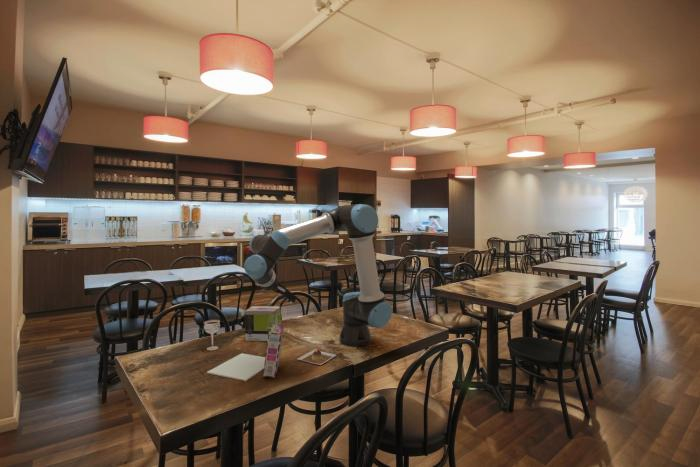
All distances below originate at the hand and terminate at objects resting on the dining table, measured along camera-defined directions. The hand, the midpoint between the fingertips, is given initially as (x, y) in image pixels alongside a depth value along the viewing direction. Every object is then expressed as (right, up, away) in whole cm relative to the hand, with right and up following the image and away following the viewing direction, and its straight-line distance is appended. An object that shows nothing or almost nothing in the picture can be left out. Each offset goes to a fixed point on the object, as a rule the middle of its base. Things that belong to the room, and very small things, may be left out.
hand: (280, 293), depth 156 cm
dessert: (+17, -27, -6) cm, 32 cm away
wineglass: (-31, -26, +5) cm, 41 cm away
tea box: (-12, -25, +19) cm, 34 cm away
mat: (-12, -26, -15) cm, 32 cm away
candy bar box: (0, -27, -20) cm, 33 cm away
